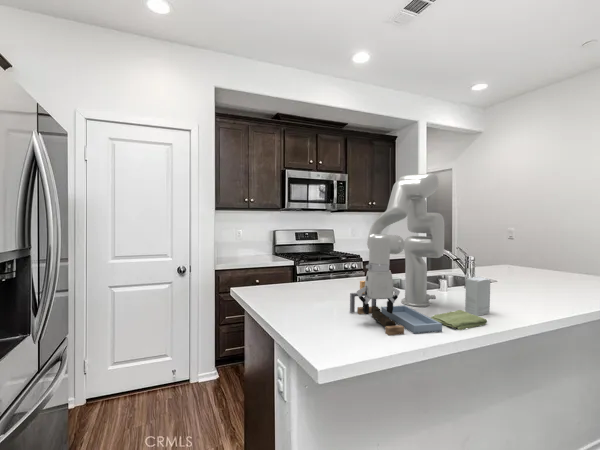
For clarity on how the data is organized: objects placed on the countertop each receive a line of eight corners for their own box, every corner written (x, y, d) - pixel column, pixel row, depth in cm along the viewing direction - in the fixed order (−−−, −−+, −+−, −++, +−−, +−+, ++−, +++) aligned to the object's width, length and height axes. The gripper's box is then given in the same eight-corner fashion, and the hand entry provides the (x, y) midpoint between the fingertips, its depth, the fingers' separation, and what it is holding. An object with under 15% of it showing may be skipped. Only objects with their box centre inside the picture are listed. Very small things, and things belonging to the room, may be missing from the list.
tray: (404, 311, 135) (404, 305, 135) (442, 331, 112) (442, 323, 112) (381, 313, 133) (381, 306, 133) (414, 333, 109) (414, 325, 109)
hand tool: (396, 331, 112) (396, 318, 112) (385, 331, 112) (385, 318, 111) (378, 315, 131) (379, 304, 131) (369, 315, 130) (369, 304, 130)
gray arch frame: (374, 310, 137) (374, 280, 137) (376, 311, 135) (376, 281, 135) (349, 311, 134) (350, 281, 134) (351, 312, 132) (352, 282, 132)
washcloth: (427, 321, 125) (428, 313, 125) (460, 316, 131) (460, 308, 131) (455, 332, 113) (456, 323, 112) (490, 326, 119) (490, 317, 119)
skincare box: (477, 310, 139) (477, 276, 139) (490, 314, 134) (491, 278, 133) (464, 312, 135) (464, 277, 135) (477, 316, 130) (478, 280, 130)
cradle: (370, 312, 134) (370, 306, 134) (404, 334, 109) (404, 327, 109) (357, 312, 133) (357, 307, 133) (388, 335, 108) (388, 328, 108)
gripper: (361, 269, 115) (360, 316, 115) (405, 269, 119) (403, 315, 119) (353, 266, 122) (352, 311, 122) (394, 266, 126) (393, 309, 126)
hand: (377, 313), depth 121 cm, fingers open, 9 cm apart
